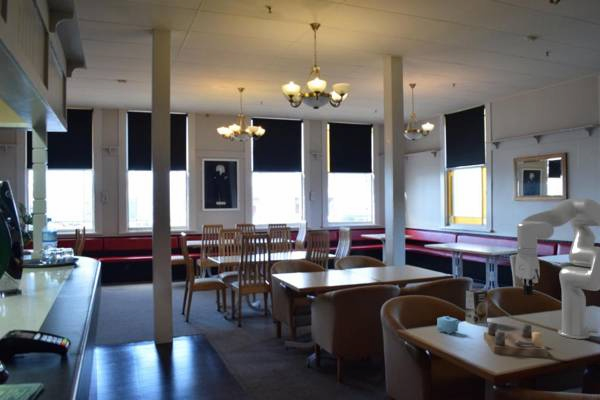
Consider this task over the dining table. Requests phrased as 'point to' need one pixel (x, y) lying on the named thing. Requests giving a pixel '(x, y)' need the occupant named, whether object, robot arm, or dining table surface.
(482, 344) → the dining table surface
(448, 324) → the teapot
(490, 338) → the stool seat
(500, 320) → the dining table surface
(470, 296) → the coffee box
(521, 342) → the hinged leg
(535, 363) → the dining table surface
